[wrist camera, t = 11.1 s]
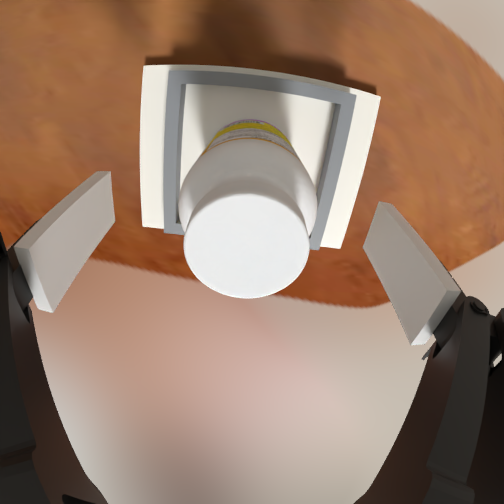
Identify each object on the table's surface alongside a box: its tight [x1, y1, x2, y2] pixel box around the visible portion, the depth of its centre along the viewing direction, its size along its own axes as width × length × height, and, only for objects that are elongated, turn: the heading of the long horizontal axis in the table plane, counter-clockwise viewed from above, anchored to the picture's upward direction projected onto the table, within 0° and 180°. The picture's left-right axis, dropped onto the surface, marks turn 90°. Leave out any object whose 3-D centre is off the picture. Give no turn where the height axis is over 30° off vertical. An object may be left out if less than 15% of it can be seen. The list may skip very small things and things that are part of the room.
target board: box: [140, 65, 381, 250], centre depth 21 cm, size 18×14×2 cm
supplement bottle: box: [178, 119, 317, 298], centre depth 16 cm, size 7×7×13 cm
